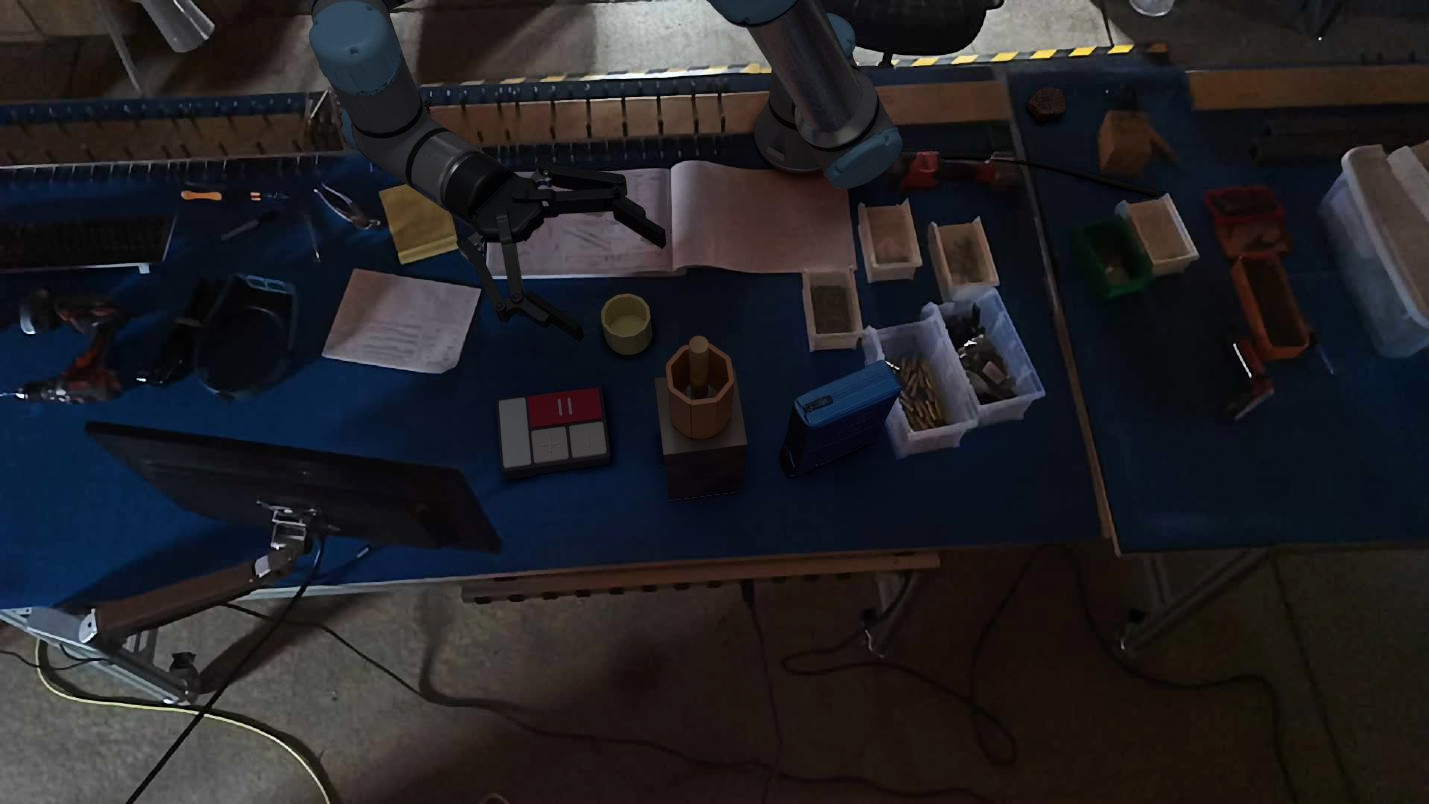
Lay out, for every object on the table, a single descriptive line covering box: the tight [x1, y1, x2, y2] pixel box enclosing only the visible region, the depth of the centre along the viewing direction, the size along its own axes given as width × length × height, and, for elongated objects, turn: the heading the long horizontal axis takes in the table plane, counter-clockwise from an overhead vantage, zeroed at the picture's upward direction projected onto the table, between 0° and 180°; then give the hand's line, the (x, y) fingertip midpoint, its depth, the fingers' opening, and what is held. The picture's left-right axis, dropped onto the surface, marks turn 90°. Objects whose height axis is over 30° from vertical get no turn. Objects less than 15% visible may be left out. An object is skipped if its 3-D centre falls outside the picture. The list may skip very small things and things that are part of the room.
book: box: [778, 359, 903, 478], centre depth 112 cm, size 14×5×20 cm, turn 115°
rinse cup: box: [600, 293, 653, 356], centre depth 125 cm, size 7×7×6 cm
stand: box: [653, 368, 749, 504], centre depth 110 cm, size 10×10×20 cm
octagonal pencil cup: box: [664, 342, 735, 439], centre depth 96 cm, size 7×7×11 cm
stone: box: [1026, 86, 1067, 122], centre depth 144 cm, size 7×7×3 cm
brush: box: [686, 335, 713, 400], centre depth 93 cm, size 3×3×17 cm
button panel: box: [495, 385, 612, 480], centre depth 119 cm, size 11×4×15 cm
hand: (623, 285), depth 86 cm, fingers open, 13 cm apart
